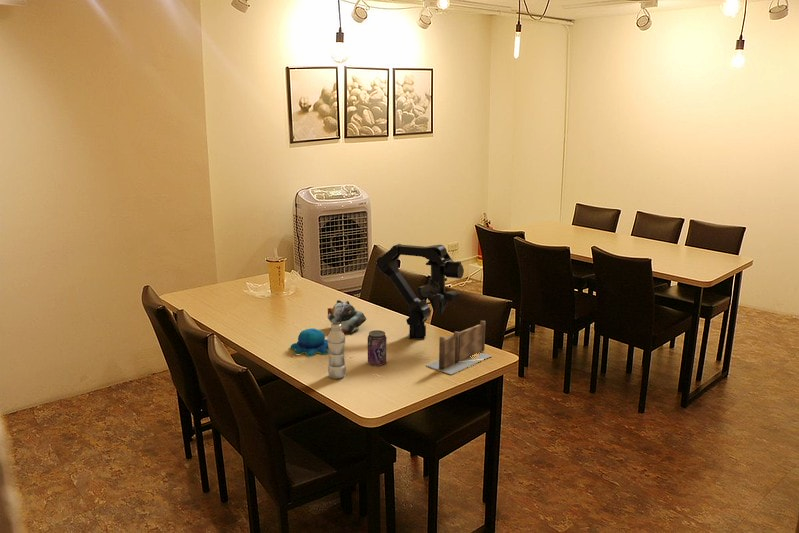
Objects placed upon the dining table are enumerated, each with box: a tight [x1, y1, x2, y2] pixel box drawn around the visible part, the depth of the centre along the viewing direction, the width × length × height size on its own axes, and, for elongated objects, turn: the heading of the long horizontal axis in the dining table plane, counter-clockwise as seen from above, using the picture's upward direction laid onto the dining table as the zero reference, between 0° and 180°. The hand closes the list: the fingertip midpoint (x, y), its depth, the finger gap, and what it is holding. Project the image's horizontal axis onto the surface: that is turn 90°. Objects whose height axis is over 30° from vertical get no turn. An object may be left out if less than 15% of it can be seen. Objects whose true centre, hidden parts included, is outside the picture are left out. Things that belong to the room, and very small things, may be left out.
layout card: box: [426, 352, 492, 376], centre depth 240 cm, size 12×25×1 cm, turn 137°
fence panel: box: [458, 320, 486, 361], centre depth 243 cm, size 16×2×12 cm, turn 137°
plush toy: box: [289, 327, 329, 357], centre depth 252 cm, size 17×17×8 cm
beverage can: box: [367, 329, 387, 367], centre depth 237 cm, size 7×7×12 cm
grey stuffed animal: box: [327, 299, 367, 335], centre depth 275 cm, size 15×12×14 cm
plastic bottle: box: [326, 322, 347, 380], centre depth 223 cm, size 6×7×20 cm
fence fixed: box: [438, 330, 460, 370], centre depth 234 cm, size 10×2×12 cm, turn 136°
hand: (438, 313), depth 259 cm, fingers open, 3 cm apart
